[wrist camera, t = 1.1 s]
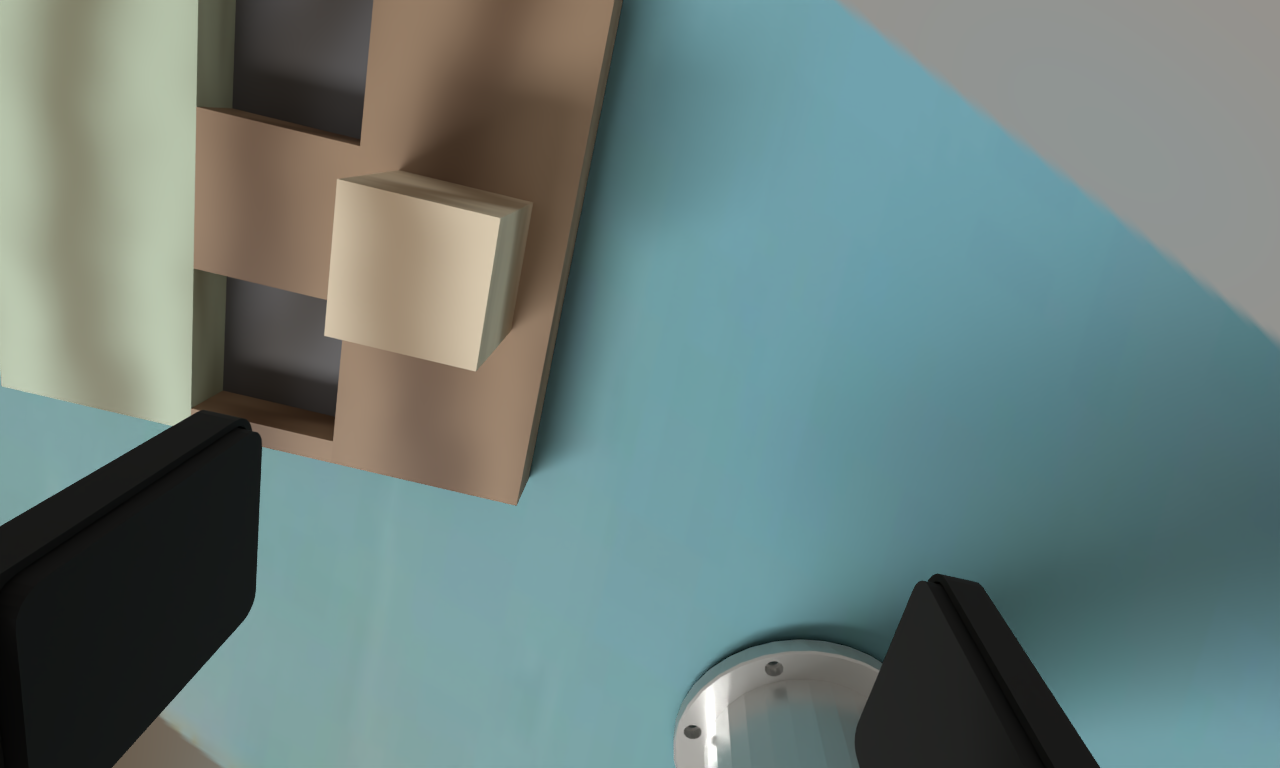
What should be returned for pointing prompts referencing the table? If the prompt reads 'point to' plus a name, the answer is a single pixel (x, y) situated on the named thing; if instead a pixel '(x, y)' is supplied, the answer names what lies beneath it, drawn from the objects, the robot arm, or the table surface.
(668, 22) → the table surface
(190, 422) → the robot arm
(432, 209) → the maple block
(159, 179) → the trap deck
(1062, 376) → the table surface
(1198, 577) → the table surface
